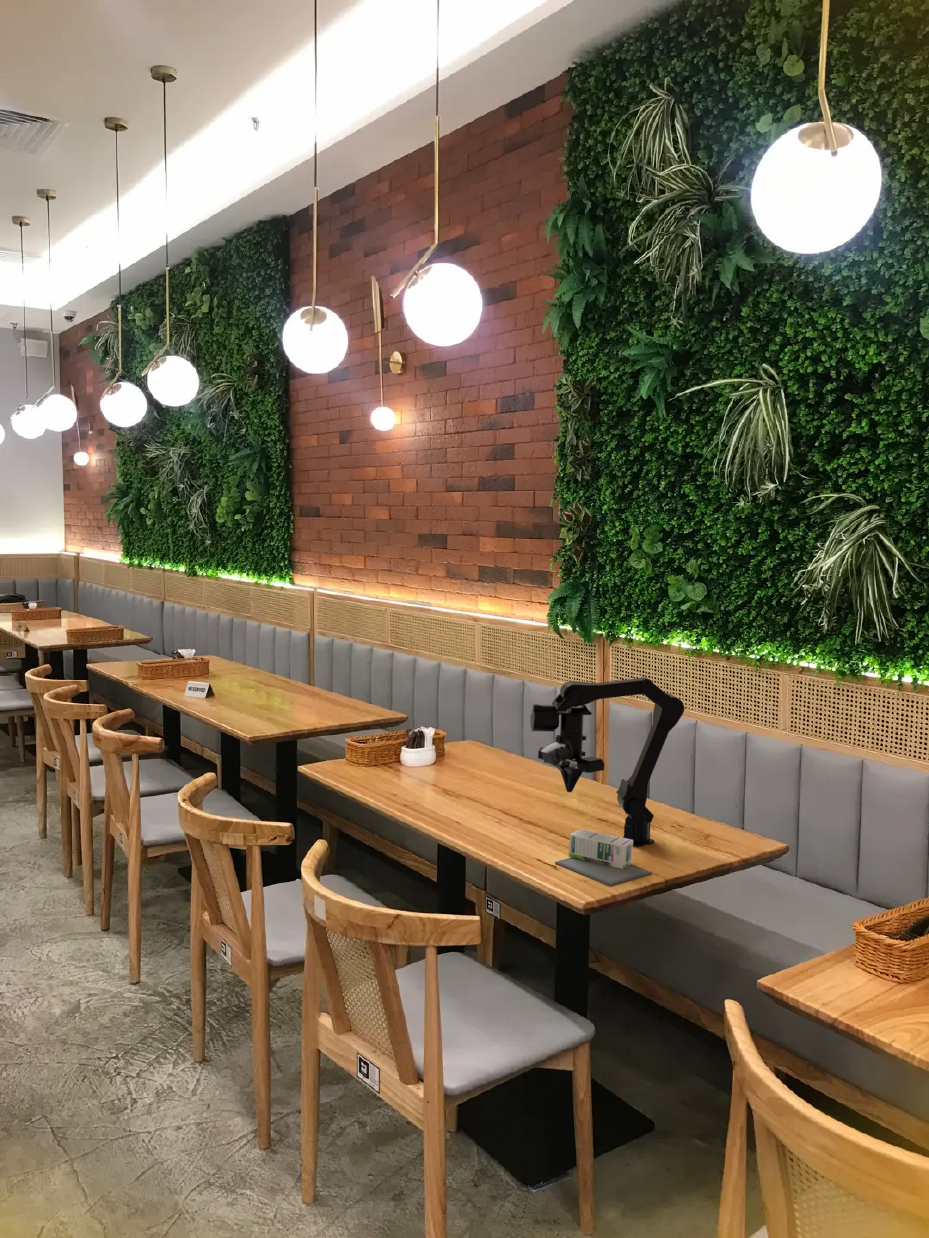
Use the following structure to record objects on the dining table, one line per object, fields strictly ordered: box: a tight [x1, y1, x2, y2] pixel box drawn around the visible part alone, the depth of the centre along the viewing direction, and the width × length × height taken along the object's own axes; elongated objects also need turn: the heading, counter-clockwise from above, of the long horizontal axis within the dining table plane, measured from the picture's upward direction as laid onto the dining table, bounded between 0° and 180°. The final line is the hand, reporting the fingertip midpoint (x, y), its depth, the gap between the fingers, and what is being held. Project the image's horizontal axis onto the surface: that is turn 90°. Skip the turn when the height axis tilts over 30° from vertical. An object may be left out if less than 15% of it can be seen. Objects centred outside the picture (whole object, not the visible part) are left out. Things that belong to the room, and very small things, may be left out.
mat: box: [554, 857, 653, 887], centre depth 226 cm, size 14×18×1 cm
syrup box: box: [568, 828, 634, 869], centre depth 230 cm, size 6×6×14 cm
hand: (569, 791), depth 244 cm, fingers closed
